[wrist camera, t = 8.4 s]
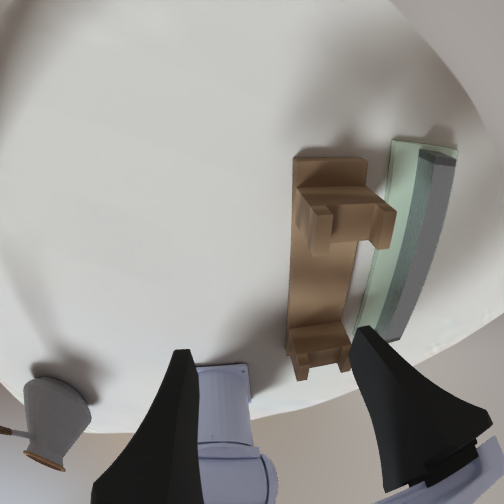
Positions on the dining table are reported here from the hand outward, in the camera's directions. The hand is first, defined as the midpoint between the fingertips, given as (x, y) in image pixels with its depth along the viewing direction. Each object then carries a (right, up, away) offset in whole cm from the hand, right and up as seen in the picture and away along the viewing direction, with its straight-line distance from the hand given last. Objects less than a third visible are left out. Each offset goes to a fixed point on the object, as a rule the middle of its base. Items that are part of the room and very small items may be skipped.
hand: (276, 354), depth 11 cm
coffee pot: (-30, -12, +16) cm, 37 cm away
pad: (+13, +4, +11) cm, 18 cm away
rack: (+4, +3, +11) cm, 12 cm away
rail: (+13, +4, +11) cm, 17 cm away
